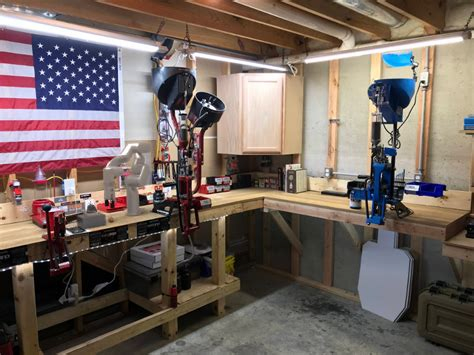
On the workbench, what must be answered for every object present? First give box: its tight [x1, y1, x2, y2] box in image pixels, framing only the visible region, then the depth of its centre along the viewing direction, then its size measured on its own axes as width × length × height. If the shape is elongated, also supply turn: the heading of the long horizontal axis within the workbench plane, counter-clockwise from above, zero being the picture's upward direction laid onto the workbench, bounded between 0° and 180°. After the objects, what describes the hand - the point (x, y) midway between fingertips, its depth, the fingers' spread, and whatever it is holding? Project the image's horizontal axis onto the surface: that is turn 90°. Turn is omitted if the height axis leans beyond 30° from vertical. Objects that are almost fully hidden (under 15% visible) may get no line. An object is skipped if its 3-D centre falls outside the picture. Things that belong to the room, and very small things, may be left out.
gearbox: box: [76, 211, 107, 230], centre depth 273 cm, size 16×12×10 cm
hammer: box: [65, 203, 98, 224], centre depth 285 cm, size 5×11×30 cm
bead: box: [107, 216, 115, 223], centre depth 284 cm, size 4×4×4 cm
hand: (109, 207), depth 282 cm, fingers open, 9 cm apart
